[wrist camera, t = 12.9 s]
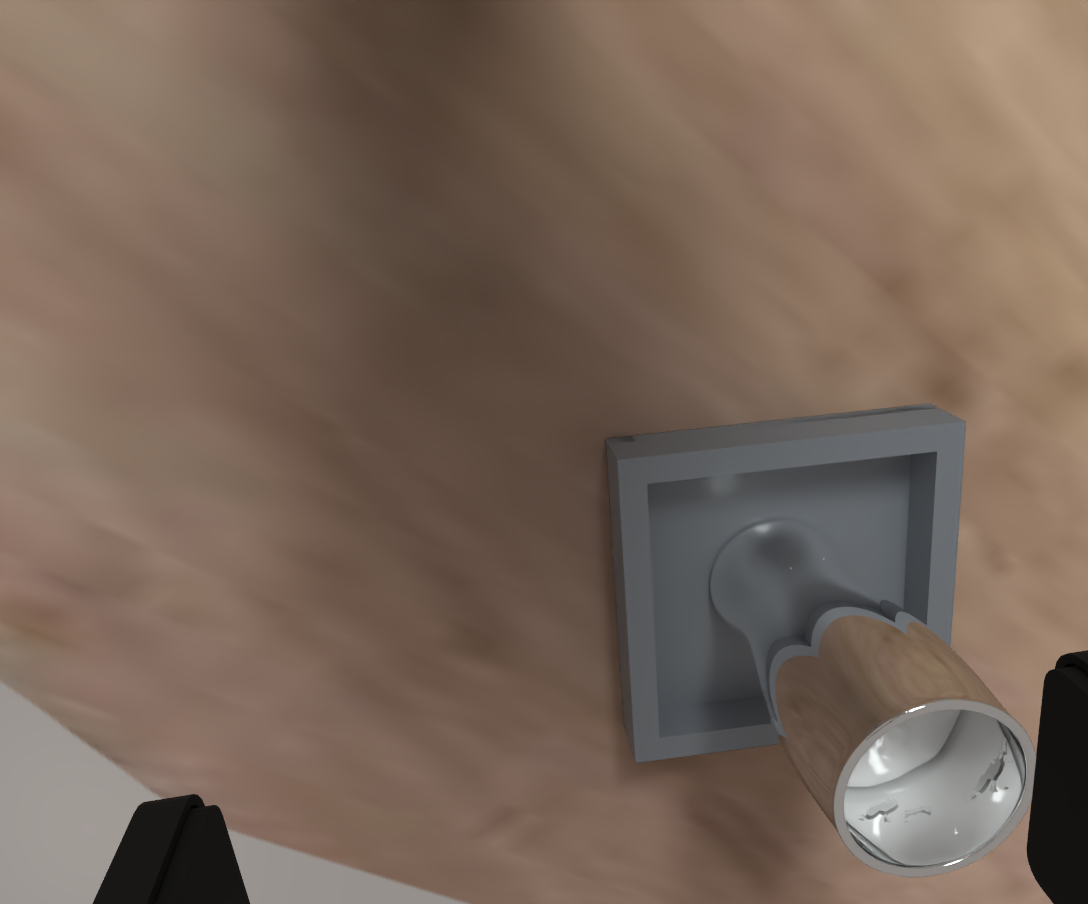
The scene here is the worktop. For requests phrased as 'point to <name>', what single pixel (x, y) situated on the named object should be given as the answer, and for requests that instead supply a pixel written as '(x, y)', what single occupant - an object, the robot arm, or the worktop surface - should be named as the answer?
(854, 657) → the beer glass
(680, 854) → the worktop surface
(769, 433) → the slate tray
